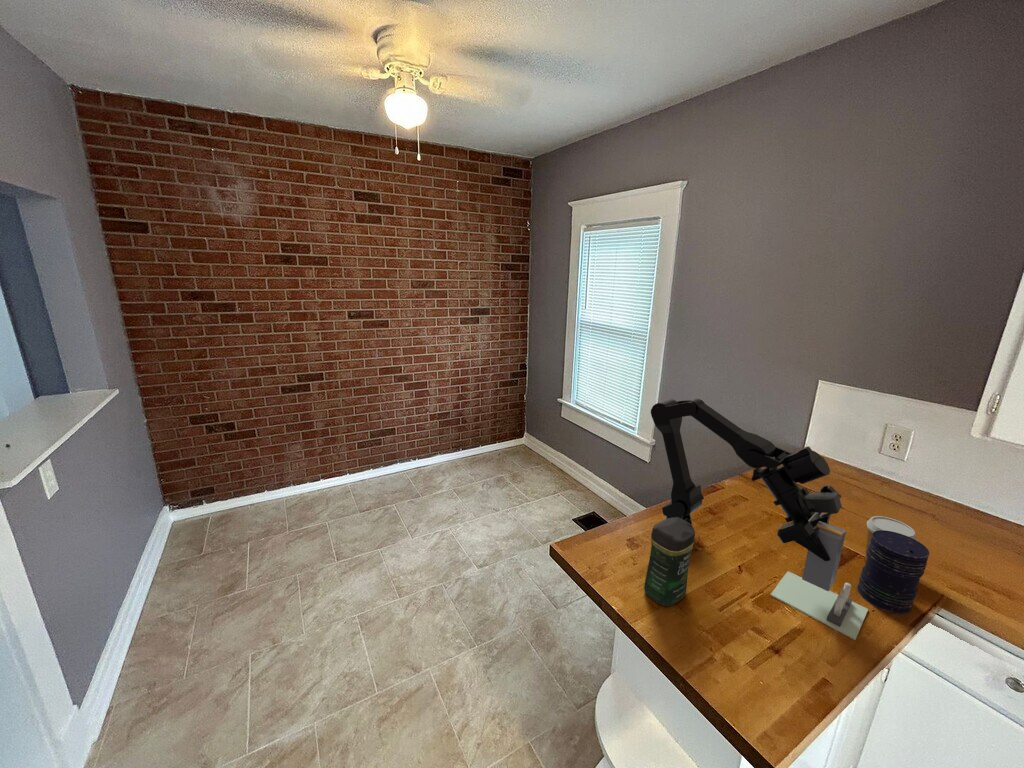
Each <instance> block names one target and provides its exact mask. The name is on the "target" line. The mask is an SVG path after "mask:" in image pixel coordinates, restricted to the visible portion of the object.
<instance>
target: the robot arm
mask: <svg viewBox="0 0 1024 768" xmlns="http://www.w3.org/2000/svg"><path fill="white" fill-rule="evenodd" d="M650 415H651V418H652V422H653V423H654V426H655V427H656V429H657V430H658V431H659V432H660V434H661V436H662V438H663V439H662V440H663V443H664V448H665V454H666V457H667V463H668V465H669V466H668V467H669V471H670V475H671V479H672V487H671V491H670V502H669V503H667V504H666V505H664V506H662V508H661V511H662V515H664V517H665V519H668V518H673V517H679V518H681V519H683V520H685V521H686V522H688V523H690V524H691V525H692V526H693V522H692V517H691V514H693V513H694V512H695V511H697V510H698V509H700V508H701V506H702V505H703V500H704V499H705V497H704V496H703V493H702V487H701V485H700V484H698V485H696V484H695V483H694V482H693V481H692V477H691V474H690V469H689V465H688V460H687V457H686V452H685V447H684V443H683V438H682V434H681V426H682V422H683V418H685V417H692V418H693V419H695V420H696V421H697V422H698V423H700V424H702V425H703V426H704V427H706V428H707V429H708V430H709V431H711V432H712V433H714V434H715V435H716V436H718V437H719V438H720V439H722V440H724V441H725V442H726V443H728V445H730V446H731V448H732V449H733V451H734V452H735V454H736V456H737V457H738V458H739V459H741V460H742V461H743V463H745V465H747V466H748V467H749V468H752V469H753V470H752V476H751V481H752V482H755V481H759V480H762V482H763V483H764V484H765V486H766V487H767V489H768V490H769V492H770V493H771V495H772V496H773V498H774V499H775V500H774V501H773V504H774V505H775V506H776V507H777V506H780V507H781V509H782V510H783V512H784V513H785V515H786V517H784V520H785V521H786V522H787V523H783V524H782V526H780V528H779V529H778V530H777V533H776V534H777V537H778V539H779V540H780V542H781V543H782V544H787V543H790V542H791V543H792V542H795V543H796V544H798V545H800V546H802V547H803V548H805V549H806V550H807V551H808V550H809V551H811V552H812V553H814V554H815V555H817V556H818V557H820V558H821V559H823V560H824V561H830V557H829V555H828V553H827V552H826V550H825V548H824V546H823V544H822V543H821V541H820V539H819V537H818V533H819V528H815V529H814V526H815V525H816V524H817V523H818V522H819V521H821V522H824V523H826V524H829V521H830V519H831V516H832V515H833V514H838V513H839V512H840V510H841V509H842V508H843V505H842V502H841V498H842V495H841V494H840V493H839V491H838V490H836V489H835V488H834V487H833V486H832V485H830V484H829V485H823V486H822V487H821V489H820V491H818V490H817V491H816V492H810V491H809V490H808V489H807V488H806V487H804V486H802V487H800V486H799V485H798V484H802V485H803V484H807V483H809V482H813V481H815V480H818V479H820V478H821V479H822V478H823V477H826V476H829V475H831V468H830V465H829V463H828V462H827V461H826V459H825V458H824V457H823V455H820V453H818V452H817V451H814V450H813V449H812V448H811V447H810V446H808V445H807V446H805V447H803V448H801V449H800V450H798V451H795V452H794V453H791V452H789V451H787V450H784V449H782V448H779V447H777V446H776V445H775V444H774V443H773V442H772V441H770V440H768V439H766V438H764V437H762V436H760V435H759V434H756V433H753V432H750V431H749V432H748V431H746V430H744V429H742V428H740V426H737V425H736V424H735V423H733V422H732V421H731V420H729V419H728V418H726V417H725V416H724V415H722V414H721V413H719V412H718V411H716V410H715V409H714V408H712V407H710V406H709V405H707V404H706V403H705V402H704V401H703V400H702V399H700V398H694V399H687V400H684V399H683V400H675V399H673V398H669V399H666V400H663V401H660V402H658V403H655V404H653V405H652V407H651V408H650ZM665 519H664V520H665ZM829 525H830V524H829Z"/></svg>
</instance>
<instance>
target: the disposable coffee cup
mask: <svg viewBox="0 0 1024 768" xmlns="http://www.w3.org/2000/svg"><path fill="white" fill-rule="evenodd" d="M866 526H867V533H866V534H867V535H866V543H865V544H866V545H865V554H864V555H865V556H864V564H865V563H866V560H867V550H868V546H869V543H870V541H871V538H872V534H873V532H875V531H878V530H886V531H892V532H896V533H900V534H903V535H905V536H908V537H910V538H913V539H915V540H916V541H917V539H918V538H917V535H916V532H915V529H914V528H912V527H911V526H909V525H908V524H906V523H905V522H902V521H900V520H898V519H894V518H892V517H888V516H887V517H886V516H881V515H874V516H872V517H870V518H869V520H867V521H866Z"/></svg>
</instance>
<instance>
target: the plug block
mask: <svg viewBox="0 0 1024 768" xmlns="http://www.w3.org/2000/svg"><path fill="white" fill-rule="evenodd" d="M815 528H819V533H818V537H819V539H820V541H821V543H822V544H823V546H824V548H825V550H826V552H827V553H828V555H829V557H830V561H824V560H823V559H821V558H820V557H818V556H817V555H815V554H814V553H812V552H811V551H809V550H808V549H807V552H806V553H807V554H806V559H805V562H804V568H803V573H802V576H801V577H802V580H805V581H807V582H809V583H811V584H813V585H815V586H817V587H820V588H822V589H824V590H826V591H831V588H832V587H833V585H834V583H835V581H836V579H837V575H838V574H837V573H838V568H839V565H840V560H841V556H842V551H843V547H844V544H845V543H844V541H845V538H846V535H847V530H846V529H843V528H839V527H837V526H835V525H831V524H826V523H824V522H821V521H819V522H818V523H817V524H816V525H815V526H814V529H815Z"/></svg>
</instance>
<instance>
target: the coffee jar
mask: <svg viewBox="0 0 1024 768" xmlns="http://www.w3.org/2000/svg"><path fill="white" fill-rule="evenodd" d="M651 529H652V530H651V534H650V544H651V547H650V552H649V560H648V565H647V571H646V573H645V574H646V575H645V580H644V585H643V589H644V592H645V593H646V595H647V596H648V597H649V598H650V599H652V600H653V601H654V602H655V603H658V604H660V605H662V606H667V607H670V606H672V605H674V604H676V603H678V602H680V601H681V600H682V599H683V598H684V597H685V596H686V593H687V589H688V588H687V587H688V579H689V569H690V560H691V555H692V550H693V548H694V547H693V546H694V544H695V537H696V531H695V528H694V527H693V524H692V525H691V524H690V523H688V522H686V521H685V520H683V519H681V518H679V517H673V518H668V519H663V520H661V521H659V522H657V523H656V524H654V525H653V527H652V528H651Z"/></svg>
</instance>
